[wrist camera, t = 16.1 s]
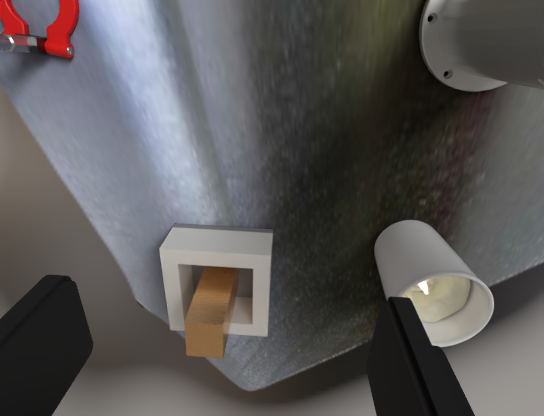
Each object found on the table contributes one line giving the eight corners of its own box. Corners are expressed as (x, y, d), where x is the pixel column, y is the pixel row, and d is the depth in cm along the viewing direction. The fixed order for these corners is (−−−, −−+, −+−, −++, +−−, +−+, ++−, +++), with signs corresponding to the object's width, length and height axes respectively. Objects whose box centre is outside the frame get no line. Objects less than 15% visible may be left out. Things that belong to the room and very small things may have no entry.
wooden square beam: (239, 256, 45) (223, 325, 34) (238, 286, 47) (223, 358, 37) (209, 254, 45) (184, 321, 34) (210, 283, 47) (186, 355, 37)
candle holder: (370, 214, 42) (397, 274, 32) (451, 212, 42) (506, 273, 31) (364, 276, 47) (386, 347, 36) (437, 276, 46) (481, 348, 35)
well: (273, 229, 44) (270, 255, 39) (269, 304, 50) (267, 336, 44) (175, 223, 44) (159, 248, 39) (183, 298, 50) (170, 330, 45)
